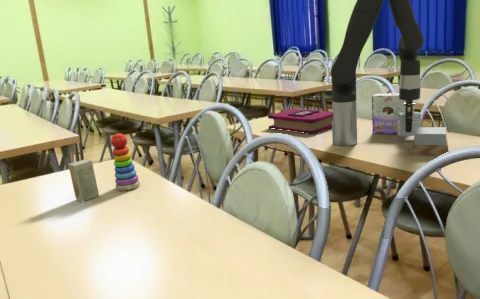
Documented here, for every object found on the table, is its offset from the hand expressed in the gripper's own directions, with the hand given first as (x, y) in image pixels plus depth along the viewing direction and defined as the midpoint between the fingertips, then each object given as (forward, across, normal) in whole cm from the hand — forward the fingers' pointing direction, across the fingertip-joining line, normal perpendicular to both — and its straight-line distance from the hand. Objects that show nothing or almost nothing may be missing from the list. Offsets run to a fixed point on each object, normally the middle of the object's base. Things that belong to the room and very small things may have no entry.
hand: (408, 129), depth 174 cm
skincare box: (+6, +74, -95) cm, 121 cm away
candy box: (+5, -13, -7) cm, 16 cm away
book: (+6, -25, -48) cm, 54 cm away
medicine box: (+2, 0, 0) cm, 2 cm away
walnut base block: (+5, +15, +7) cm, 17 cm away
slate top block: (+1, +15, +7) cm, 17 cm away
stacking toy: (+6, +63, -87) cm, 108 cm away
